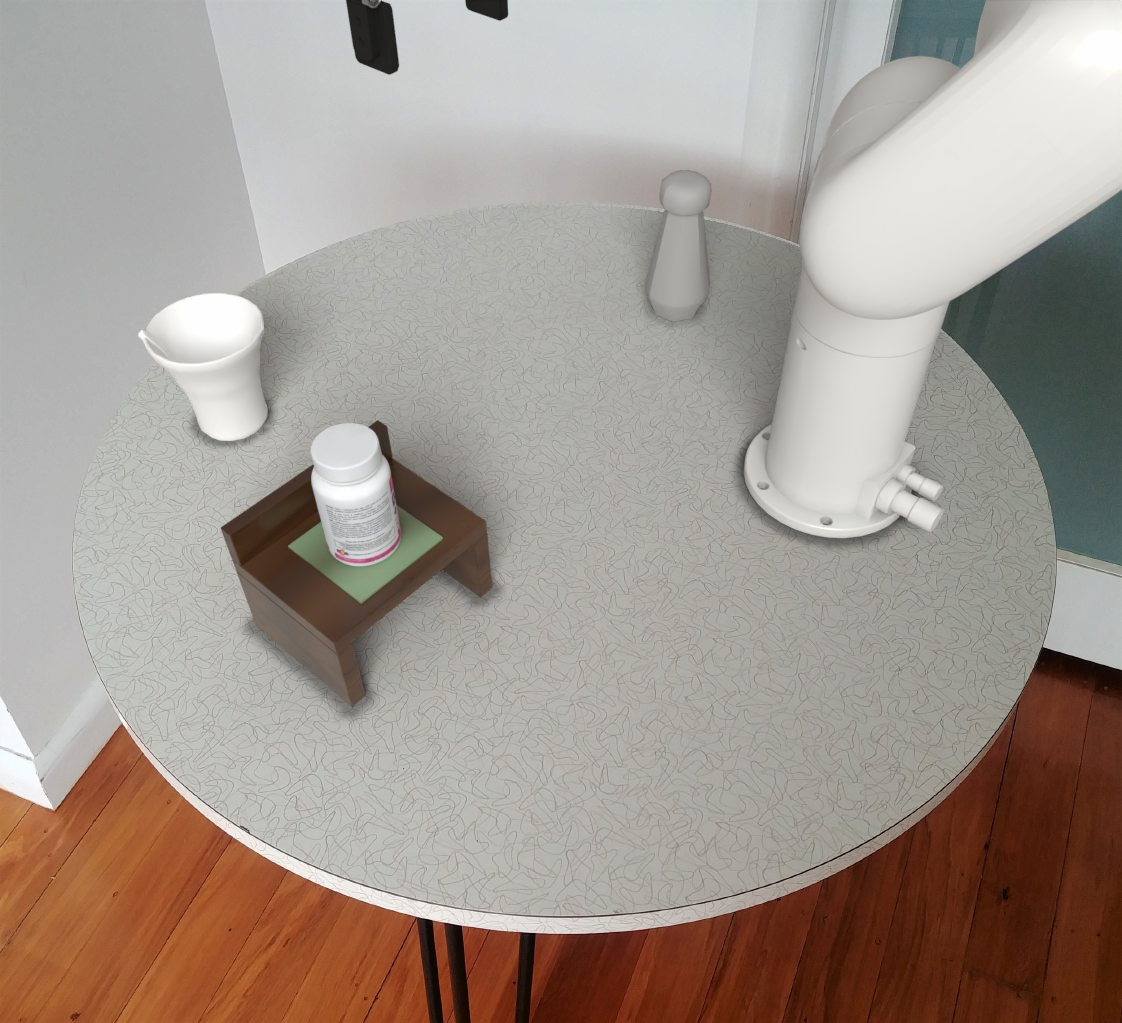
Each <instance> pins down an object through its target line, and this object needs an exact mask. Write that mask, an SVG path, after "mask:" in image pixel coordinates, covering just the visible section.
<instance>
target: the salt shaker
mask: <svg viewBox="0 0 1122 1023" xmlns="http://www.w3.org/2000/svg"><path fill="white" fill-rule="evenodd" d="M712 188H713V187H712V183H711V181H710V180H709V179H708V177H706V175H704V174H703V173H700V172H699V171H695V170H690V169H680V170H676V171H673V172H671V173H669V174H667V175H666V176H665V177H664V178H663V179H662V180H661V183H660V188H659V198H658V199H659V202H660V205H661V206H662V208H663V209H664V211H663V214H662V219H661V221H660V225H659V229H658V233H657V236H656V237H657V238H656V240H655V245H654V248H653V252H652V255H651V259H650V263H649V266H648V271H647V274H646V278H645V284H644V292H645V294H646V295H647V298H648V300H649V301H650V303H651V306H652V309H653V311H654V314H655V316H657V317H660V318H663V319H664V320H667V321H669V322H672V323H675V322H681V321H687V320H692V319H693V318H694V316H695V314H696V313H697V311H698V310H699V309H700V308H701V306H702V305H703V304H704V302H705V301H706V300H707V299H708V296H709V293H710V288H711V281H710V270H709V269H710V268H709V257H708V247H707V246H708V245H707V239H706V238H707V236H706V225H705V215H704V212H705V210H707V208H709V206H710V204H711V203H710V202H711V197H712V191H713V189H712Z"/></svg>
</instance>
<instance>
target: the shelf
mask: <svg viewBox="0 0 1122 1023" xmlns="http://www.w3.org/2000/svg"><path fill="white" fill-rule="evenodd" d="M367 427H369V428H370V429H372V430H373V431H374V432H375V434H376V435H377V437H378V440H379V444H380V448H381V452H382V455H383V456H384V457H385V458H386V460H387V461H388V463H389V466H390V470H391V476H392V482H393V487H394V493H395V499H396V505H397V510H398V516H399V521H400V526H401V541H400V544H399V546H398V548H397V549H396V550H395V552H394V553H393V554H392V555H390V556H389V557H388V558H386V559H385V560H383V561H381V562H378V563H376V564H373V565H369V566H351V565H347V564H344V563H342V562H340V561H339V560H337V559H336V558H335V557H334V556H333V555H332V554H331V552H330V551H329V548H328V546H327V543H326V539H325V535H324V531H323V527H322V523H321V519H320V515H319V511H318V507H317V503H316V500H315V496H314V492H313V488H312V482H311V475H312V471H313V468H314V464H313V463H312V464H311V465H309V466H308V467H307V468H306V469H304V470H302V471H301V472H299V473H298V474H296V475H295V476H294V477H292V478H291V479H289V480H288V481H286V482H285V483H283V484H282V485H281V486H279V487H278V488H276V489H274V490H273V491H272V492H270V493H269V494H267V495H266V496H265V497H263V498H262V499H260V500H259V501H257V502H255V503H254V504H252V505H251V506H250V507H248V508H247V509H245V510H244V511H243V512H241V513H240V514H238V515H237V516H235V517H233V518H232V519H231V520H230V521H228V522H226V523H225V524H224V525H222V526H220V530H221V531H220V532H221V533H222V536H223V538H224V541H225V544H226V547H227V551H228V552H229V555H230V558H231V561H232V563H233V566H234V569H235V571H236V574H237V577H238V580H239V583H240V585H241V588H242V591H243V594H244V596H245V599H246V602H247V605H248V607H249V610H250V614H251V616H252V618H253V621H254V624H255V626H256V628H257V627H258V629H260V630H261V631H262V632H263V633H264V634H265V635H266V636H268V638H270V639H271V640H273V642H275V643H276V644H278V645H279V646H280V648H282V649H283V650H284V651H285V652H287V654H289V655H290V656H291V657H292V658H294V660H296V661H297V662H298V663H300V664H301V665H302V666H303V667H305V668H306V669H307V670H308V671H309V672H310V673H311V674H313V675H314V676H315V677H316V678H318V679H319V680H320V681H321V682H322V683H323V684H324V685H326V686H327V687H328V688H329V689H330V690H331V691H333V692H334V693H335V694H336V695H338V697H340V698H341V699H342V700H343V701H344V702H346V703H347V704H348V705H349V706H350V707H354V706H355V705H356V704H358V703H359V702H360V701H361V700H362V699H363V698H365V697H366V691H365V687H364V684H363V679H362V675H361V672H360V669H359V664H358V661H357V656H356V653H355V649H354V644H353V642H354V641H356V640H357V639H358V638H360V637H361V636H362V635H363V634H364V633H366V632H367V631H368V630H369V629H370V628H372V627H373V626H374V625H375V624H377V623H378V622H379V621H380V620H381V619H383V618H384V617H385V616H386V615H388V614H389V613H390V612H391V611H393V610H394V609H395V608H396V607H398V606H399V605H400V604H402V603H403V602H404V601H405V600H406V599H408V598H409V597H410V596H411V595H412V594H414V593H415V592H416V591H417V590H419V589H420V588H421V587H422V586H424V584H426V583H427V582H428V581H430V580H431V579H432V578H433V577H434V576H436V575H437V574H438V573H440V572H441V571H443V572H444V573H446V574H447V575H449V576H450V577H451V578H453V580H456V581H457V582H458V583H460V584H461V585H463V586H464V587H465V588H467V589H468V590H470V592H472V593H473V594H475V595H477V597H479V598H482V597H483V596H484V595H485V594H487V593H488V592H489V591H490V590H491V589H492V588H493V582H492V581H493V580H492V570H491V558H490V547H489V537H488V536H489V535H488V529H487V528H488V527H487V521H486V519H484V518H482V517H481V516H479V515H478V514H476V513H475V512H474V511H472V510H470V508H468V507H466V506H464V505H463V504H462V503H460V502H459V501H457V500H456V499H454V498H453V497H451V496H450V495H448V494H447V493H445V492H444V491H443V490H441V489H439V488H438V487H437V486H435V485H434V484H432V483H430V482H429V481H428V480H426V479H424V478H423V477H421V476H420V475H418V474H417V473H416V472H414V471H413V470H411V469H410V468H408V467H406V466H405V465H404V464H402V463H401V462H399V461H397V460H396V459H395V458H393V450H392V446H391V445H392V444H391V441H390V440H391V439H390V434H389V428H388V426H387V425H386V424H384V423H383V422H382V421H380V420H375V422H373V423H371V424H370V425H368V426H367Z"/></svg>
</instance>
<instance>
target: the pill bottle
mask: <svg viewBox="0 0 1122 1023" xmlns="http://www.w3.org/2000/svg"><path fill="white" fill-rule="evenodd" d="M310 456H311V461H312V465H313V464H314V468H313V471H312V475H311V482H312V488H313V492H314V496H315V500H316V503H317V507H318V511H319V515H320V519H321V523H322V527H323V531H324V535H325V539H326V543H327V546H328V548H329V551H330V552H331V554H332V555H333V556H334V557H335V558H336V559H337V560H339V561H340V562H342V563H344V564H347V565H351V566H369V565H373V564H376V563H378V562H381V561H383V560H385V559H386V558H388V557H389V556H390V555H392V554H393V553H394V552H395V550H396V549H397V548H398V546H399V544H400V541H401V526H400V521H399V516H398V510H397V505H396V499H395V493H394V487H393V482H392V476H391V470H390V466H389V463H388V461H387V460H386V458H385V457H384V456H383V455H382V452H381V448H380V444H379V440H378V437H377V435H376V434H375V432H374V431H373V430H372V429H370V428H369V427H368V426H367V425H365V424H362V423H357V422H342V423H341V422H340V423H337V424H333V425H331V426H328V427H327V428H325V429H323V430H322V431H320V432H319V433H318V434H317V435H316V436H315V437H314V438H313V440H312V442H311V445H310Z"/></svg>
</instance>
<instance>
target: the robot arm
mask: <svg viewBox="0 0 1122 1023" xmlns="http://www.w3.org/2000/svg"><path fill="white" fill-rule="evenodd" d="M464 3H465V7H466V9H467V10H468V11H470V12H473V13H476V14H479V15H482V16H485V17H487V18H490V19H493V20H496V21H499V22H500V21H504V20H505V19H507V18H508V16H509V0H465V2H464ZM345 4H346V9H347V16H348V23H349V29H350V36H351V42H352V47H353V51H354V57H355V59H356V61H357V62H358V63H359V64H361V65H363V66H366V67H369V68H371V69H373V70H376V71H379V72H382V73H383V74H385V75H388V76H389V75H393V74H395V73H397V72H398V71H399V69H400V60H399V53H398V43H397V37H396V36H397V35H396V28H395V27H396V26H395V19H394V11H393V6H392V4H391V3H390V2H386V1H384V0H345ZM974 45H975V46H974V52H973V57H972V58H971V59H969V60H968V61H967V62H966V63H965V64H964V65H962V66H961V67H960V66H958V65H956V64H955V63H953V62H950V61H948V60H945V59H942V58H939V57H934V56H929V55H928V56H927V55H916V56H915V55H914V56H906V57H902V58H901V57H900V58H897V59H894V60H891V61H888V62H886V63H883V64H882V65H880V66H877V67H876V68H874V69H873V70H871V71H870V72H868V73H867V74H865V75H864V76H863V77H862V78H861V79H859V80H858V81H857V82H856V83H855V84H854V85H853V86H852V87H851V88H850V90H849V91H848V92H847V93H846V94H845V96H844V97H843V99H842V100H841V101H840V103H839V104H838V106H837V107H836V109H835V111H834V113H833V115H832V117H831V119H830V122H829V124H828V127H827V129H826V132H825V136H824V137H823V142H822V145H821V148H820V151H819V154H818V157H817V161H816V164H815V168H814V173H813V177H812V180H811V183H810V187H809V190H808V193H807V196H806V199H805V202H804V205H803V210H802V213H801V219H800V225H799V237H798V238H799V251H800V253H799V254H800V257H801V258H800V259H801V262H802V265H801V271H800V275H799V280H798V286H797V291H796V296H795V300H794V303H793V304H794V305H793V310H792V316H791V320H790V327H789V331H788V337H787V342H786V347H785V352H784V359H783V363H782V369H781V375H780V380H779V385H778V390H777V391H778V392H777V394H776V395H777V397H776V401H775V406H774V412H773V416H772V418H773V419H772V423H770V424H769V425H767V426H765V428H762V429H761V430H760V431H759V432H758V433H757V434H756V435H755V436H754V437H753V438H752V439H751V442H750V443H749V445H748V447H747V449H746V453H745V457H744V465H743V476H744V482H745V486H746V487H747V489H748V492H749V494H750V495H751V497H752V498H753V500H754V501H755V503H756V504H757V505H758V506H759V507H760V508H761V509H762V510H763V511H764V512H765V513H766V514H767V515H769V516H771V517H772V518H773V519H775V520H776V521H777V522H779V523H781V524H783V525H785V526H787V527H789V528H791V529H793V530H796V531H799V532H802V533H804V534H808V535H811V536H816V537H824V538H827V539H828V538H830V539H849V538H857V537H864V536H867V535H870V534H874V533H878V532H879V531H881V530H883V529H885V528H887V527H889V526H890V525H891V524H893V523H894V522H896V520H898V519H899V518H900V516H901V517H903V518H905V519H907V522H909V523H911V524H913V525H914V526H916V527H918V528H920V529H922V530H924V531H925V532H928V533H930V534H931V533H932V532H933V531H934V530H935V529H936V527H937V526H938V525H939V523H940V521H941V520H942V518H943V516H944V513H945V509H944V508H942V507H940V506H939V505H938V504H935V503H933V502H936V501H937V500H938V498H940V495H941V494H942V491H943V489H944V485H943V484H941V483H939V482H937V481H936V480H933V479H931V478H930V477H925V476H923V475H922V474H919V473H918V472H916V471H917V470H916V469H917V468H916V467H915V466H913V465H911V464H912V462H913V461H912V460H913V458H914V455H915V452H916V449H917V446H916V445H914V444H912V443H910V442H907V441H906V439H907V436H908V432H909V430H910V427H911V423H912V420H913V417H914V414H915V410H916V407H917V404H918V401H919V397H920V394H921V392H922V388H923V385H924V381H925V379H926V376H927V372H928V369H929V366H930V362H931V359H932V356H933V353H934V350H935V347H936V343H937V339H938V337H939V335H940V333H941V330H942V327H943V324H944V321H945V318H946V315H947V312H948V308H949V305H950V302H951V301H953V300H955V299H956V298H958V297H961V296H962V295H964V294H965V293H966V292H969V291H970V290H971V289H973V288H974V287H976V286H978V285H979V284H981V283H982V282H984V281H985V280H987V279H989V278H990V277H992V276H993V275H995V274H997V273H998V272H1001V270H1003V269H1004V268H1005V267H1008V266H1010V264H1012V263H1014V262H1015V261H1017V260H1019V259H1021V257H1023V256H1025V255H1026V254H1028V253H1030V252H1031V251H1032V250H1034V249H1035V248H1037V247H1039V246H1040V245H1041V244H1043V243H1045V242H1046V241H1048V240H1049V239H1051V238H1052V237H1054V236H1056V235H1057V234H1058V233H1060V232H1062V231H1063V230H1064V229H1066V228H1068V227H1069V226H1071V225H1072V224H1074V223H1075V222H1077V221H1078V220H1080V219H1081V218H1083V217H1085V216H1086V215H1088V214H1089V213H1090V212H1092V211H1094V210H1095V209H1097V208H1098V207H1100V206H1101V205H1102V204H1104V203H1105V202H1107V201H1108V200H1110V199H1111V198H1113V197H1114V196H1116V195H1117V194H1118V193H1120V192H1122V0H985V1H984V5H983V8H982V12H981V15H980V18H979V23H978V26H977V32H976V38H975V44H974ZM913 491H914V492H916V493H917V494H918V495H920V496H922V497H919V496H916V495H914V494H913V493H912V492H913ZM931 501H932V502H931Z"/></svg>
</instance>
